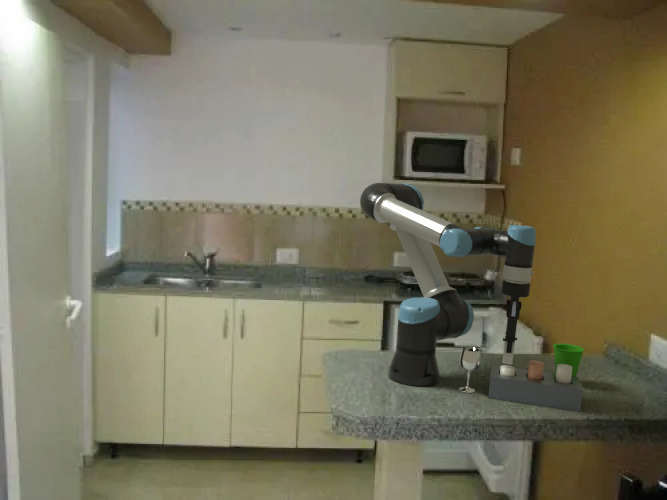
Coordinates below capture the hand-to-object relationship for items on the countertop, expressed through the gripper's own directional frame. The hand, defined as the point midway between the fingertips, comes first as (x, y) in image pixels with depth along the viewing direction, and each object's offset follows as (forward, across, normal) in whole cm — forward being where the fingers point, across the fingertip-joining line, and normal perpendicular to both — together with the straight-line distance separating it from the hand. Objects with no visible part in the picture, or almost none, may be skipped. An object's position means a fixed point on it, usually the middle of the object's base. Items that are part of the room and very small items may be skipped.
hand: (507, 363), depth 183 cm
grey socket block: (+9, 0, -8) cm, 12 cm away
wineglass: (+9, -2, +10) cm, 14 cm away
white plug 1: (+8, 0, 0) cm, 8 cm away
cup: (+9, +19, -18) cm, 27 cm away
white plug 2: (+6, 0, -15) cm, 16 cm away
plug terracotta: (+6, 0, -8) cm, 10 cm away
